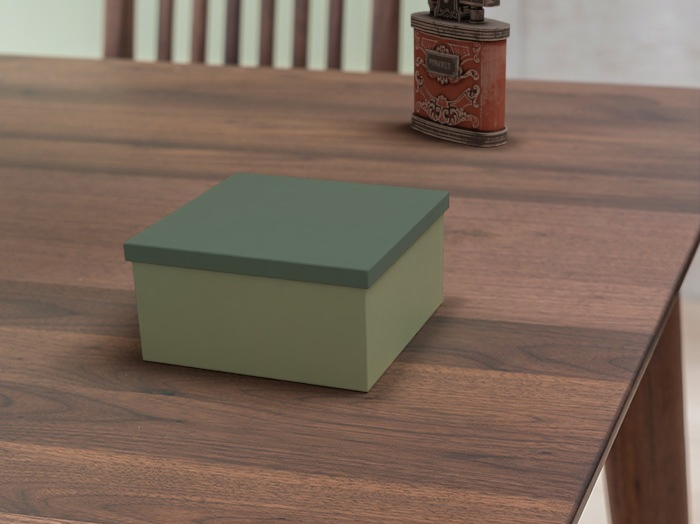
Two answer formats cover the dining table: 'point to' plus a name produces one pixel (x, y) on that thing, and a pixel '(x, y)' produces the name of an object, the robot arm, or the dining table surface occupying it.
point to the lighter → (460, 72)
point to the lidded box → (290, 278)
